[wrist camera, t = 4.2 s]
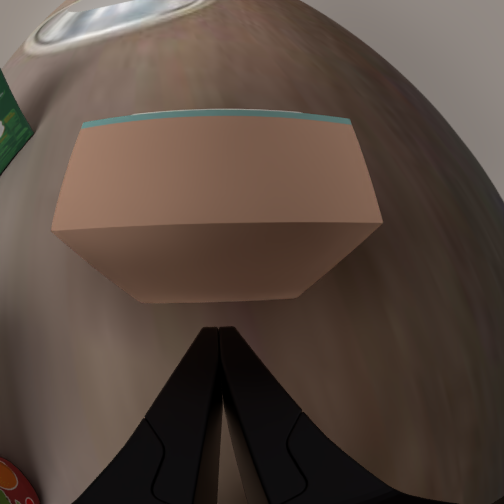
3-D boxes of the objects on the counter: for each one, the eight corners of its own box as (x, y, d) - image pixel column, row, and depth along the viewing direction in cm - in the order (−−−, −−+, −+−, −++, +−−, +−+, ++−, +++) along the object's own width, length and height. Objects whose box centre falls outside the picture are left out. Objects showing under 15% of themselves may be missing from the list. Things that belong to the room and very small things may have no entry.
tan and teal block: (296, 298, 17) (383, 222, 7) (141, 303, 16) (50, 230, 6) (289, 235, 18) (349, 119, 9) (144, 238, 17) (83, 122, 8)
